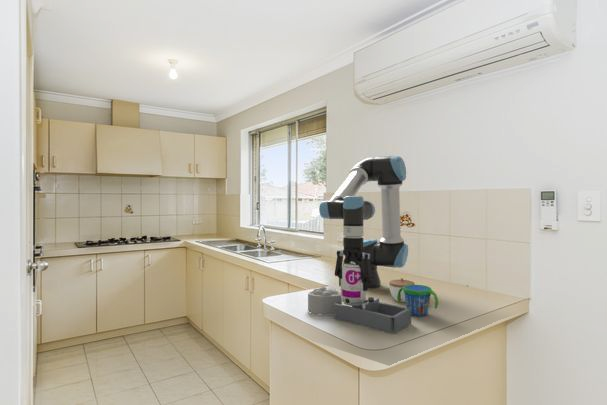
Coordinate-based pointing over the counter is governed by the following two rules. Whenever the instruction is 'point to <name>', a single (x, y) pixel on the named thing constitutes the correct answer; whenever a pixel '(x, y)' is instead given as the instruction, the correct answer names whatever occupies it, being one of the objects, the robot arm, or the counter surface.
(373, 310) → the pusher
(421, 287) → the snack cup
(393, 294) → the lidded jar
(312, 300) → the lumpy-topped squat cylinder
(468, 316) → the counter surface
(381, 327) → the gray storage bin
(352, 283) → the supplement can
